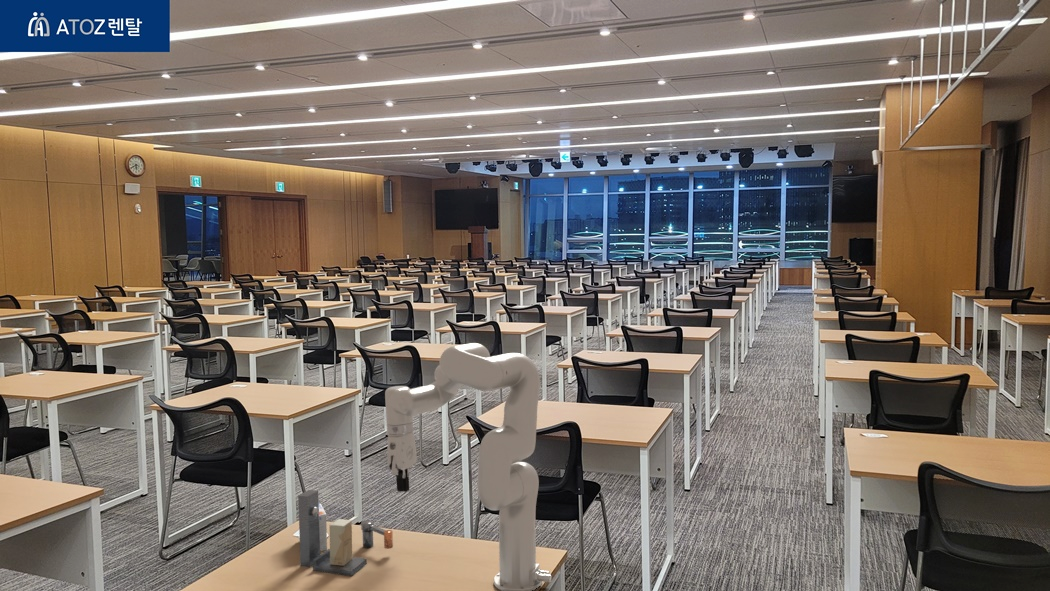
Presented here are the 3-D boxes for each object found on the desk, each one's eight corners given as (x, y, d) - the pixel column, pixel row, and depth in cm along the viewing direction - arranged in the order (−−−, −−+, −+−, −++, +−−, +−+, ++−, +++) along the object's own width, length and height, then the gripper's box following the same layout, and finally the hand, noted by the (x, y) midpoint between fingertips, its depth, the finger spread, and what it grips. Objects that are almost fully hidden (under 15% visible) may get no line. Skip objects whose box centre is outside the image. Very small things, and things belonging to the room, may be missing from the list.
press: (366, 564, 204) (364, 493, 203) (351, 576, 196) (349, 503, 195) (314, 556, 209) (312, 488, 208) (297, 568, 202) (294, 497, 200)
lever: (359, 538, 216) (358, 522, 216) (369, 534, 219) (368, 519, 218) (386, 550, 207) (385, 534, 207) (396, 546, 210) (395, 530, 209)
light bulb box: (299, 541, 221) (297, 506, 220) (322, 537, 224) (320, 502, 223) (304, 554, 211) (303, 517, 210) (328, 550, 214) (327, 514, 213)
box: (343, 566, 199) (342, 526, 198) (329, 564, 200) (328, 525, 200) (353, 558, 204) (352, 519, 203) (339, 556, 205) (338, 518, 205)
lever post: (375, 544, 217) (374, 528, 217) (370, 548, 214) (369, 532, 214) (366, 543, 218) (365, 527, 218) (360, 547, 215) (360, 531, 215)
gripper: (399, 435, 207) (402, 499, 207) (422, 423, 221) (425, 483, 221) (375, 434, 209) (379, 497, 210) (400, 423, 223) (403, 482, 224)
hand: (403, 490), depth 216 cm, fingers closed
